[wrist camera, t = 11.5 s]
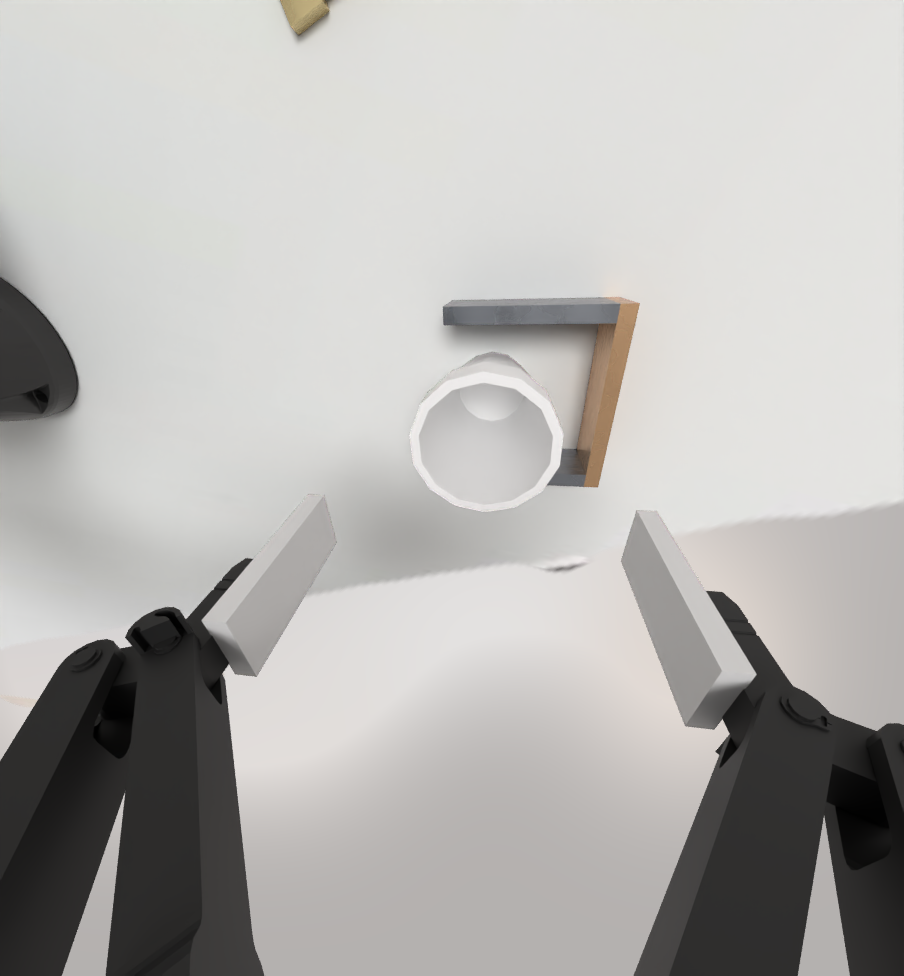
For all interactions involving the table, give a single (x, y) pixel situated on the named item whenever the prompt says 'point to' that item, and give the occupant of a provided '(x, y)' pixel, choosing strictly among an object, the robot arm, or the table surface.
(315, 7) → the brass key
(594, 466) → the channel
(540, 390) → the foam cup
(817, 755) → the robot arm
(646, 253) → the table surface
